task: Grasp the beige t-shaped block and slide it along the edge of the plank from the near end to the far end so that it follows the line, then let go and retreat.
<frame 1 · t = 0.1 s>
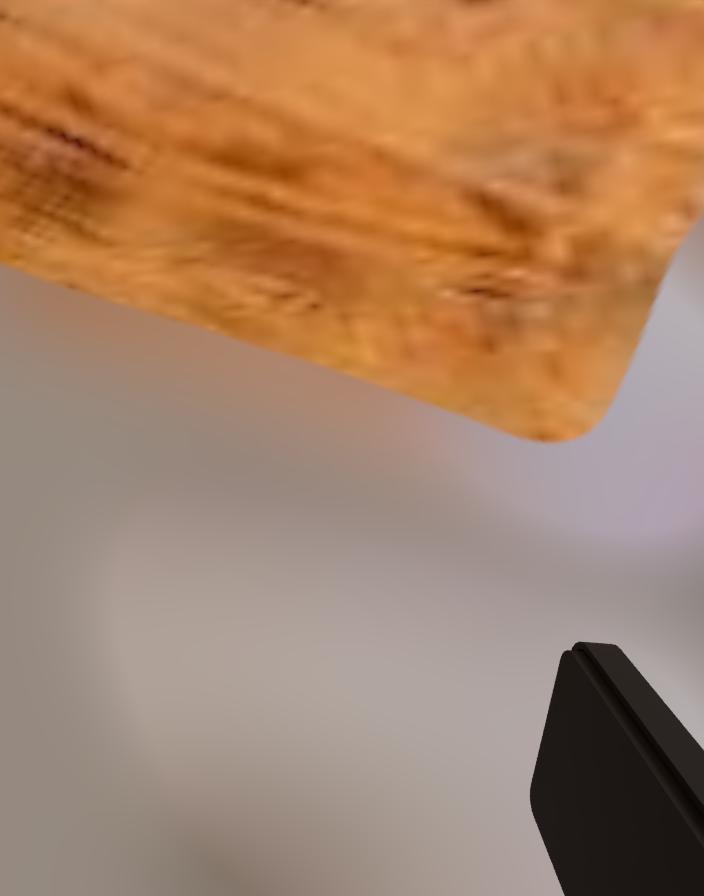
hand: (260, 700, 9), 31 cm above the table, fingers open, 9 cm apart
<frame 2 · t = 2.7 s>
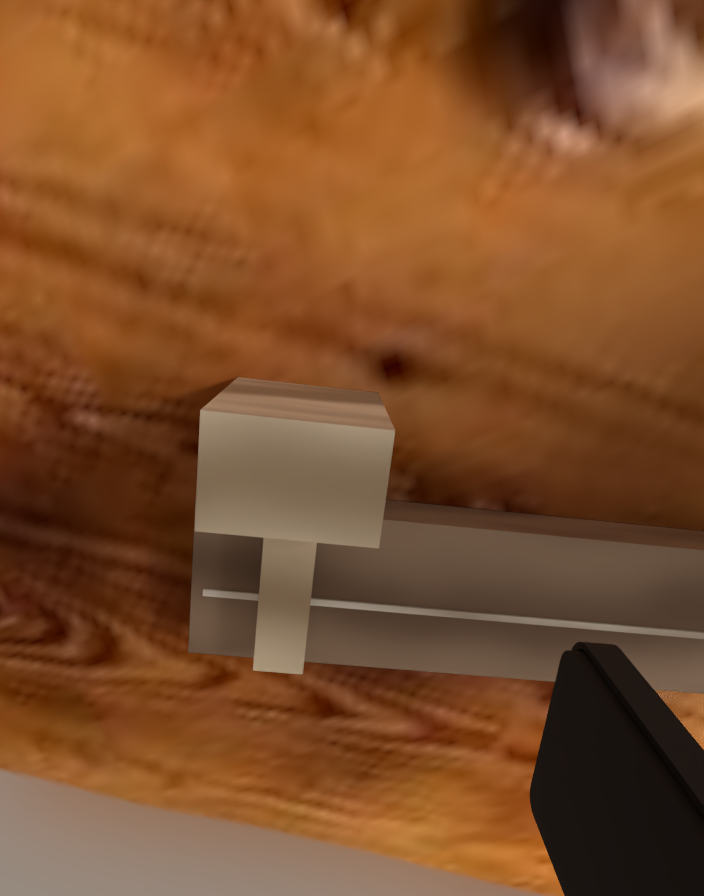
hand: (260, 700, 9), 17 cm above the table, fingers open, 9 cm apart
beige t-shaped block: (304, 430, 25), on the table
plank: (461, 577, 27), on the table
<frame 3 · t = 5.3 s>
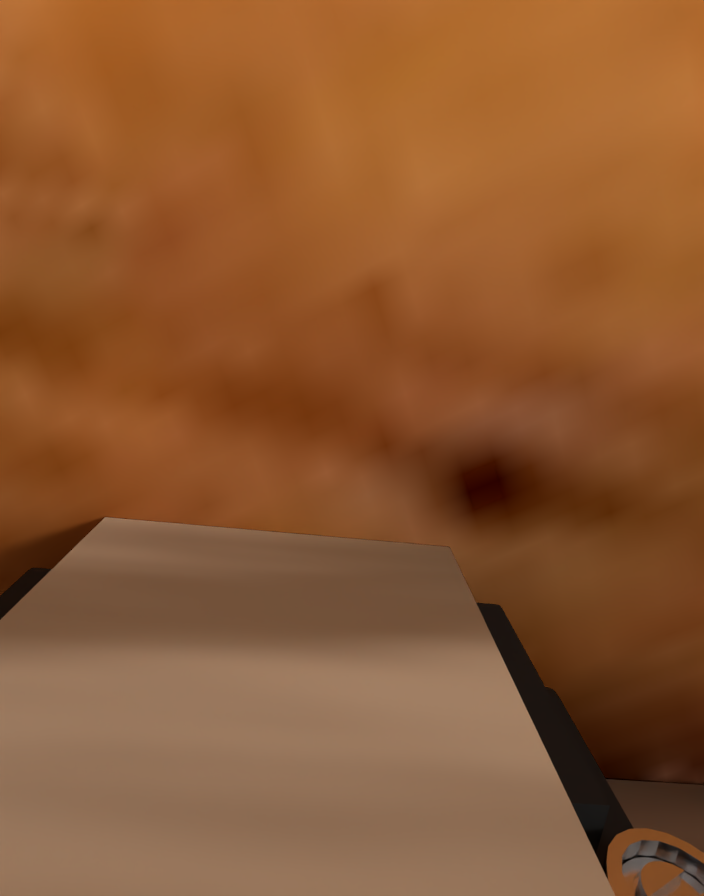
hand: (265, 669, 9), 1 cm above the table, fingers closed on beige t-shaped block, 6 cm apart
beige t-shaped block: (272, 632, 10), on the table, touching gripper
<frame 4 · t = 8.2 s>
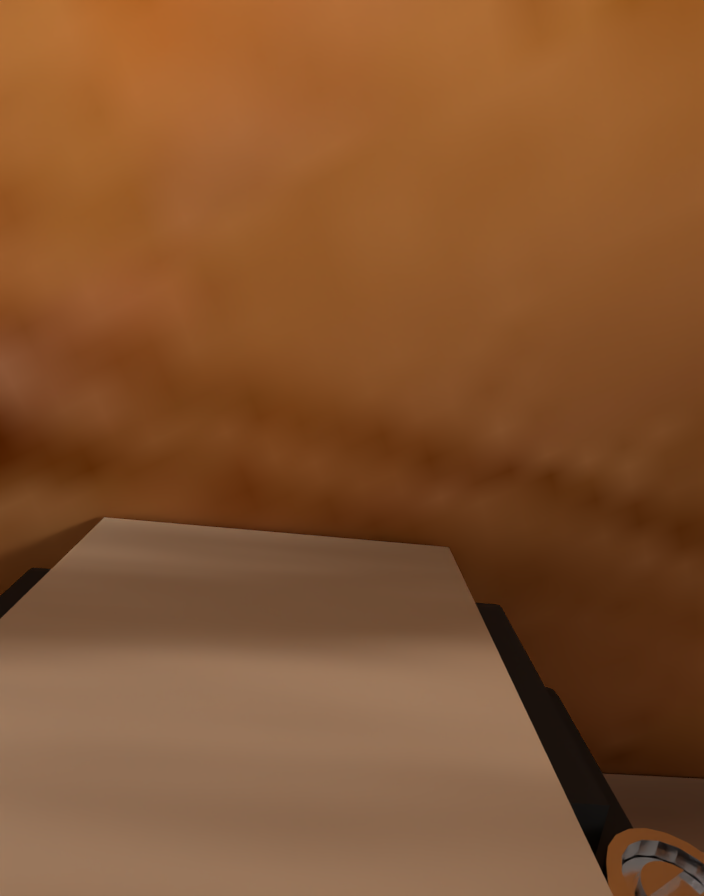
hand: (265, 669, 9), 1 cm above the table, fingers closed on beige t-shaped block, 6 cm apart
beige t-shaped block: (271, 633, 10), on the table, touching gripper
plank: (201, 887, 12), on the table
when the fingers open (1 cm above the table, at t = 11.2 s): beige t-shaped block stays where it is, on the table.
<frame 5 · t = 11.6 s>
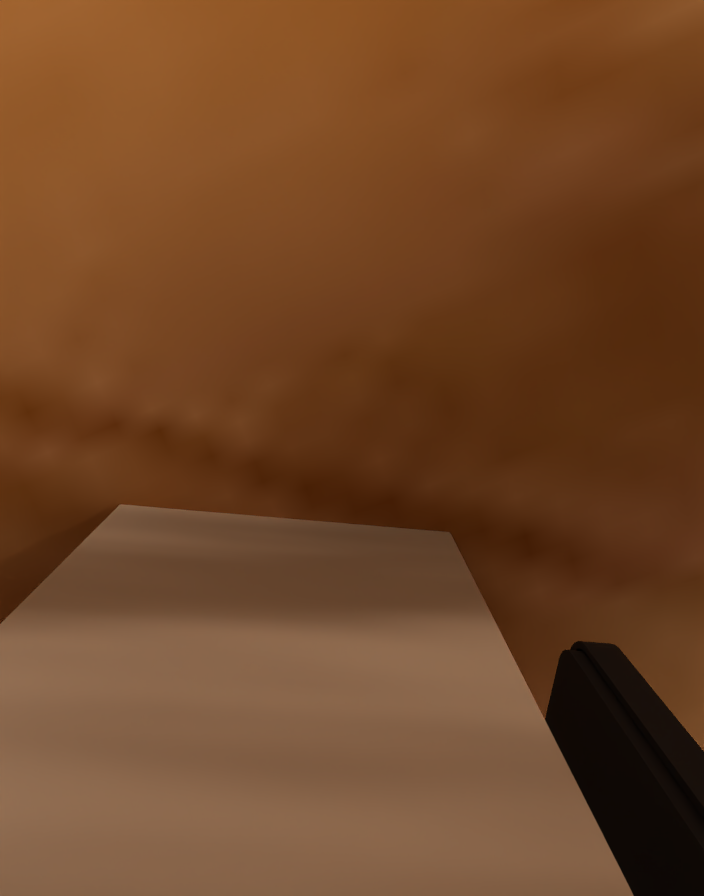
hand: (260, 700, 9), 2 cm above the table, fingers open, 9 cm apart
beige t-shaped block: (280, 615, 11), on the table
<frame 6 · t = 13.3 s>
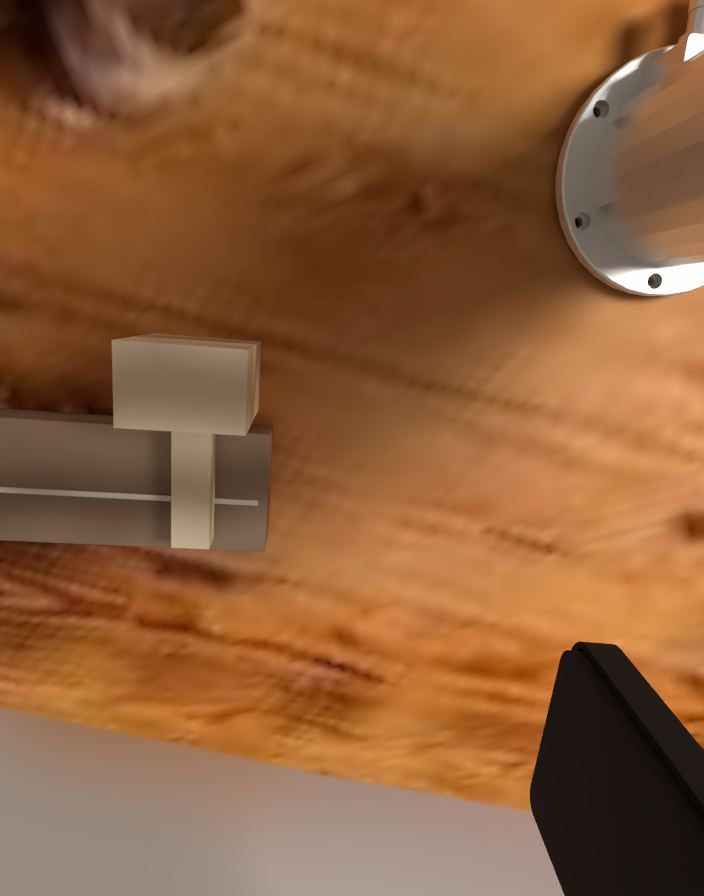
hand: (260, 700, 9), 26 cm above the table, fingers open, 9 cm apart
beige t-shaped block: (207, 372, 33), on the table
plank: (65, 470, 33), on the table
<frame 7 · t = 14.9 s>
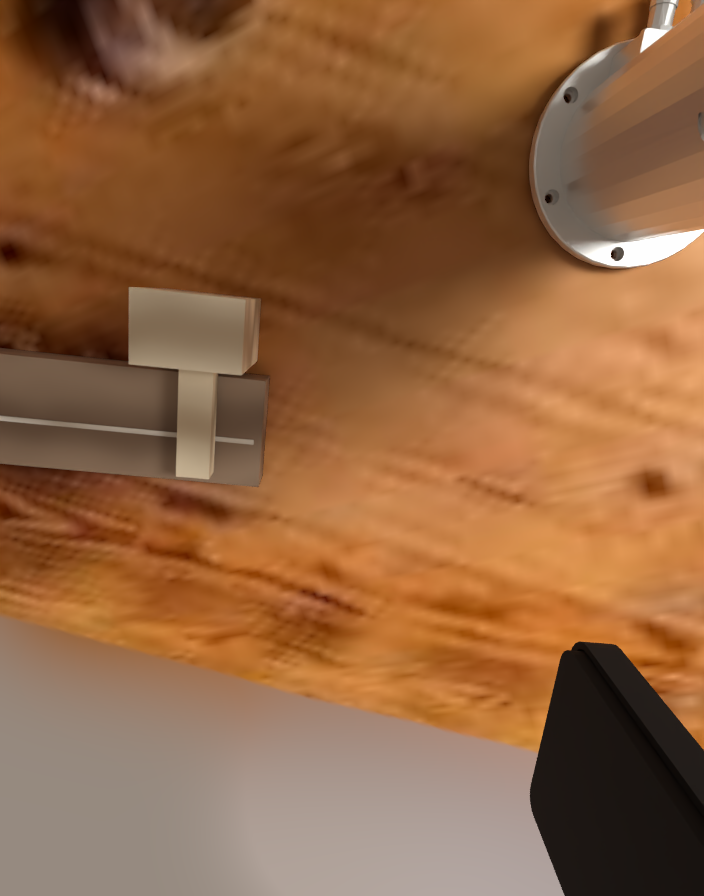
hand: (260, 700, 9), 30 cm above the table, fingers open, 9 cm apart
beige t-shaped block: (212, 325, 37), on the table
plank: (85, 409, 38), on the table
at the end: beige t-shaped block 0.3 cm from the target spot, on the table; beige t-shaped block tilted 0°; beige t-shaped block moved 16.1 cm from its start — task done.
